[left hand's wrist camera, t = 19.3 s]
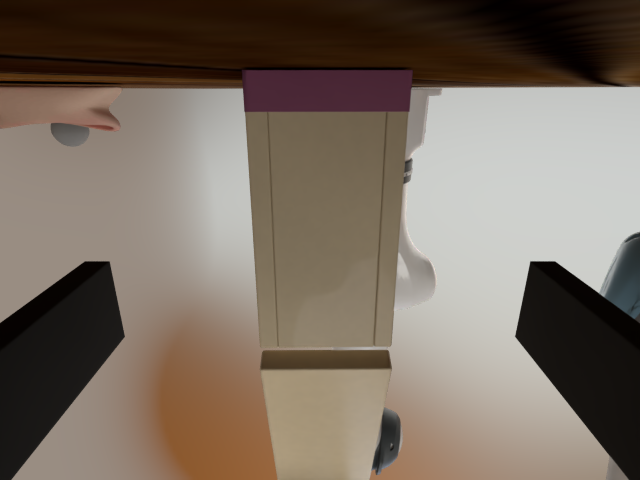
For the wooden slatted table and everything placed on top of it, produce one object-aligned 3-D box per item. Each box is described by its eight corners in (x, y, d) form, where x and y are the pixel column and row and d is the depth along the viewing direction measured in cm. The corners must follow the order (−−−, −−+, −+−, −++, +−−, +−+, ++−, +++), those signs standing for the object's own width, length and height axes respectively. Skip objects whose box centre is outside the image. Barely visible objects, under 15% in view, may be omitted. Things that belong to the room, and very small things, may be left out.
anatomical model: (-74, 154, 24) (132, 144, 29) (-98, 84, 23) (122, 85, 27) (-13, 134, 35) (129, 129, 40) (-26, 86, 34) (122, 87, 39)
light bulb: (72, 88, 68) (84, 148, 72) (86, 88, 74) (97, 144, 77) (34, 88, 67) (48, 148, 71) (51, 88, 73) (63, 144, 76)
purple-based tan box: (359, 81, 24) (354, 221, 27) (282, 81, 24) (287, 221, 27) (412, 70, 11) (391, 347, 14) (241, 70, 11) (259, 348, 14)
